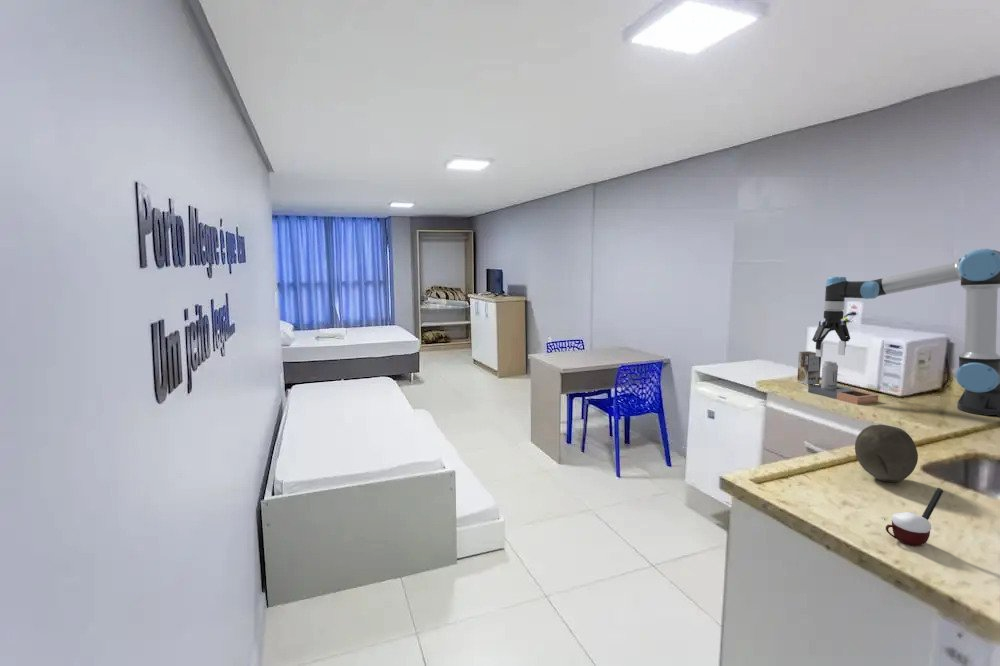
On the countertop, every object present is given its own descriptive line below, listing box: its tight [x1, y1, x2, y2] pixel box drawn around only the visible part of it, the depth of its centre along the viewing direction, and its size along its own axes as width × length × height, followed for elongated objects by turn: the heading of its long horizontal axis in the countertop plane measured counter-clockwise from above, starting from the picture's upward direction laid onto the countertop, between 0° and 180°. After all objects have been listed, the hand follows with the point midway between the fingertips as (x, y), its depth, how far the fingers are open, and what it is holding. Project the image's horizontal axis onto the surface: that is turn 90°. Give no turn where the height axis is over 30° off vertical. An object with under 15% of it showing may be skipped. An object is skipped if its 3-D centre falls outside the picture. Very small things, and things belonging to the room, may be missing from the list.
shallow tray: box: [807, 384, 880, 405], centre depth 223 cm, size 24×12×3 cm, turn 17°
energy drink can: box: [820, 360, 839, 390], centre depth 229 cm, size 6×6×15 cm
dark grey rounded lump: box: [854, 424, 919, 483], centre depth 134 cm, size 14×14×15 cm
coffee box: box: [796, 351, 822, 386], centre depth 250 cm, size 9×6×16 cm
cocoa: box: [885, 487, 944, 547], centre depth 103 cm, size 10×6×12 cm, turn 56°
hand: (830, 355), depth 228 cm, fingers open, 13 cm apart
